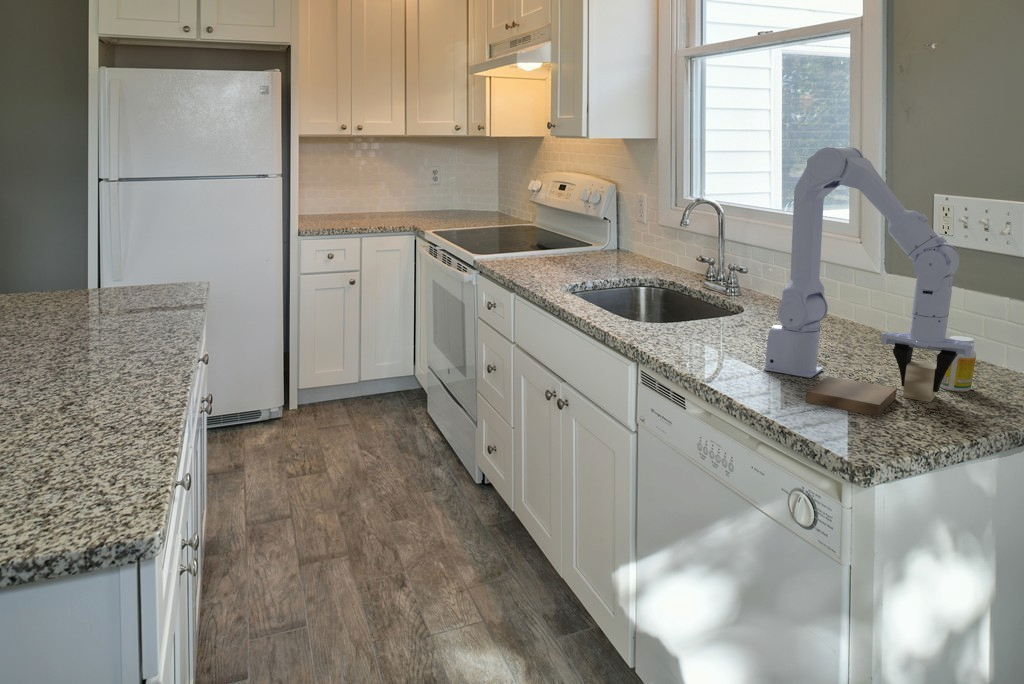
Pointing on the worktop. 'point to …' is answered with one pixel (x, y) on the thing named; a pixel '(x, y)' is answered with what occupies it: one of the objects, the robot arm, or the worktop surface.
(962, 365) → the supplement bottle
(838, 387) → the walnut plinth
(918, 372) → the beech block
